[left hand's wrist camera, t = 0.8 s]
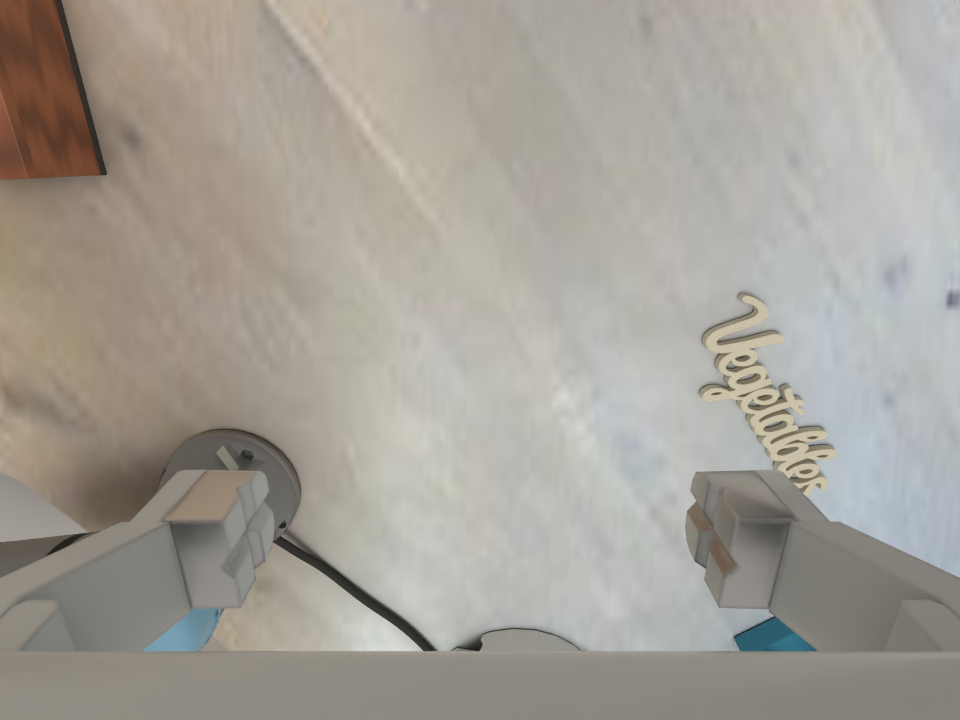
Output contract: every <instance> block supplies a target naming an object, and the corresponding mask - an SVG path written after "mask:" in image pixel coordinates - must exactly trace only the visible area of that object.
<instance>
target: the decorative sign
mask: <svg viewBox="0 0 960 720" xmlns="http://www.w3.org/2000/svg"><path fill="white" fill-rule="evenodd" d="M738 299H739V300H741V301H742V302H745V303H748V304H751V305H752V306H753V307H754V311H753V312H752V313H751V314H749V315H747V316H744V317H741V318H738V319H735V320H732V321H729V322H726V323H723V324H721V325H718V326H715V327H713V328H711V329H710V330H708V331H707V332H706V333H705V334H704V336H703V339H702V341H703V344H704V346H705V347H706V348H707V349H709V350H710V351H711V352H714V353H721V354H720V355H719V356H718V357H717V358H716V360H715V366H716V368H717V369H718V370H719V371H720V372H721V373H722V374H724V375H725V377H724V380H725V382H726V383H727V384H728V385H729V386H730V387H728V388H724V387H722V386H720V385H707V386H705V387H703V388H702V389H701V390H700V392H699V394H700V396H701V397H702V398H703V399H704V400H705V401H717V400H722V399H727V398H731V399H733V400H737V404H738V406H739V407H740V408H741V409H742V410H743V411H744V412H745V413H748V414H747V416H746V419H747V421H748V422H749V423H750V427H751V429H752V430H753V431H754V432H755V433H756V434H757V435H759V436H758V440H759V441H760V442H761V443H762V444H763V445H764V447H765V448H766V454H767V455H768V456H769V457H770V458H771V459H772V460H774V461H775V462H774V468H775V469H776V470H779V471H781V472H783V473H784V474H785V475H786V476H787V477H788V478H789V479H790V480H791V481H792V482H793V483H794V484H795V485H796V486H797V487H798V488H799V489H800V490H801V491H802V493H803V494H804V495H805V496H806V497H807V496H808V495H809V494H810V492H811V491H812V489H813V487H814V486H815V485H817V486H818V487H819V488H820V489H821V490H824V489H826V488H827V486H828V481H827V479H826V478H825V477H824V476H823V475H822V474H820V473H818V472H819V466H818V465H817V464H816V463H815V462H813V461H812V460H827V459H832V458H834V457H836V455H837V451H836V450H835V449H834V448H832V447H831V446H830V445H816V446H810V447H809V446H808V445H807V444H806V443H805V442H812V441H819V440H822V439H825V438H826V437H827V436H828V432H826V431H825V430H824V429H823V428H821V427H804V428H798V426H797V425H796V424H794V418H793V417H792V416H791V415H790V414H789V413H788V412H786V411H783V410H782V409H785V408H789V407H791V408H792V409H793V410H794V411H796V412H797V413H799V414H801V415H804V414H805V412H804V411H803V410H801V409H800V408H799V406H803V405H804V400H803V399H801V398H800V397H798V396H793V392H792V387H790V386H789V385H787V384H785V385H782V386H781V387H780V391H781V394H782V397H783V398H781V399H778V397H779V392H778V391H777V390H775V389H774V388H773V387H772V386H769V385H770V384H772V383H771V381H770V379H769V378H768V377H767V376H766V375H767V370H766V368H765V367H763V366H762V365H761V364H759V363H755V361H756V360H757V357H758V354H757V352H756V351H754V350H753V349H751V348H756V347H762V346H767V345H771V344H777V343H781V344H782V343H784V337H783V336H782V335H780V334H778V333H777V332H774V331H769V332H764V333H760V334H756V335H752V336H748V337H744V338H740V339H735V340H729V341H723V342H717V341H718V339H719V338H721V337H723V336H725V335H727V334H730V333H733V332H736V331H739V330H742V329H745V328H748V327H751V326H753V325H756V324H758V323H760V322H762V321H763V320H764V319H765V318H766V317H767V315H768V309H767V307H766V306H765V305H764V304H763V303H762V302H761V301H759V300H758V299H756V298H754V297H752V296H750V295H747V294H743V293H741V294H739V296H738ZM743 355H746V356H744V357H742V358H739V359H737V358H736V357H739V356H743ZM729 362H731V363H733V364H734V365H736V366H738V367H736V368H734V369H728V368H726V365H727V364H728V363H729ZM752 373H757V374H756V376H755V377H753V378H750V379H748V380H744V381H737V380H738V379H739V378H741V377H743V376H745V375H748V374H752ZM762 395H766V396H763V397H759V396H762ZM751 400H753V401H754V402H755V403H756V404H760V406H758V407H751V406H748V404H749V402H750V401H751ZM777 421H783V422H782V423H781V424H779V425H776V426H773V427H769V428H764V427H765V426H767V425H768V424H770V423H773V422H777ZM804 441H805V442H804ZM784 448H787V449H785V450H781V449H784ZM779 450H781V451H779ZM806 458H808V459H806ZM809 459H812V460H809ZM793 474H795V475H796V476H797V477H799V478H798V479H792V478H790V477H791V476H792V475H793Z"/></svg>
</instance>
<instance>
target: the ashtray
mask: <svg viewBox="0 0 960 720" xmlns="http://www.w3.org/2000/svg"><path fill="white" fill-rule="evenodd" d="M480 641H482V644H483V645H482V648H481V650H480V651H580V650H579V649H577V648H576V647H575V646H574V645H572V644H570V643H568V642H567V641H565V640H563V639H561V638H559V637H557V636H554V635H551V634H547V633H543V632H540V631H536V630H521V629H509V630H502V631H495V632H489V633H486V634H484V635H482V639H481V640H480ZM453 651H474V650H468V649H461V648H456V649H454V650H453Z"/></svg>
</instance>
